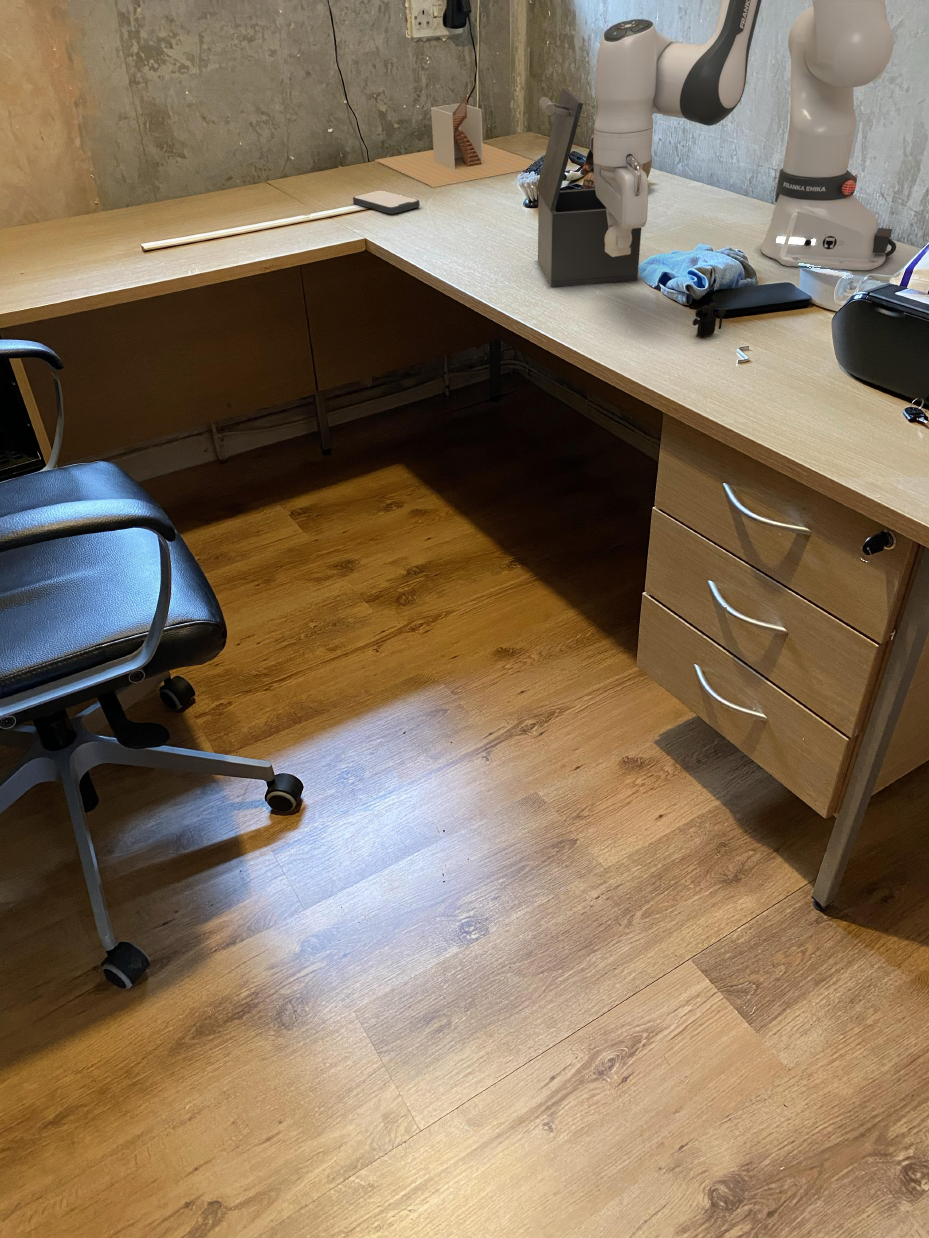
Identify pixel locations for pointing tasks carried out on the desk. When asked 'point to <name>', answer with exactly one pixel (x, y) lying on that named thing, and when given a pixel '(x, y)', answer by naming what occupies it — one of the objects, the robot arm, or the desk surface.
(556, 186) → the bin lid
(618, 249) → the beige rounded piece
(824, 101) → the robot arm
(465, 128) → the staircase
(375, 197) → the phone case
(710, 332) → the black knobbed bracket
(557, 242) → the waste bin
